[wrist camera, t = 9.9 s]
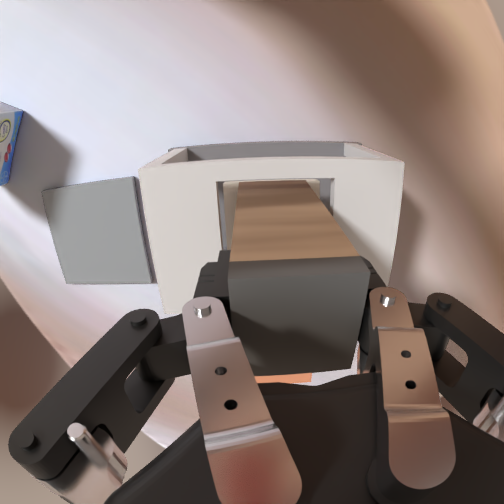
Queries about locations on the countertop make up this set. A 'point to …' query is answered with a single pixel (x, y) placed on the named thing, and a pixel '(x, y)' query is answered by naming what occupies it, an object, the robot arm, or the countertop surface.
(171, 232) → the white square frame
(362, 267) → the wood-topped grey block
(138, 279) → the mat
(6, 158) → the medicine box
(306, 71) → the countertop surface
